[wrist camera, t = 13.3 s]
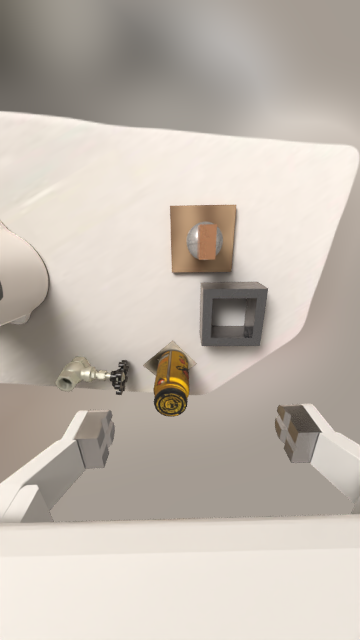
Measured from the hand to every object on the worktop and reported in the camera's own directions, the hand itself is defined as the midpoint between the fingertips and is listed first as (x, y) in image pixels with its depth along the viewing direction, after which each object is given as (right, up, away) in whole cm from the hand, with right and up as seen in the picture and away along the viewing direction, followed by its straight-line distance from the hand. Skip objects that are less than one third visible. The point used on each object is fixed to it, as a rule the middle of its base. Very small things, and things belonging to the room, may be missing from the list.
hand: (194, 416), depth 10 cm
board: (+3, +18, +25) cm, 30 cm away
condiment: (-3, -4, +34) cm, 34 cm away
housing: (+8, +7, +29) cm, 31 cm away
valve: (-17, -5, +34) cm, 39 cm away
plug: (+3, +17, +24) cm, 29 cm away
